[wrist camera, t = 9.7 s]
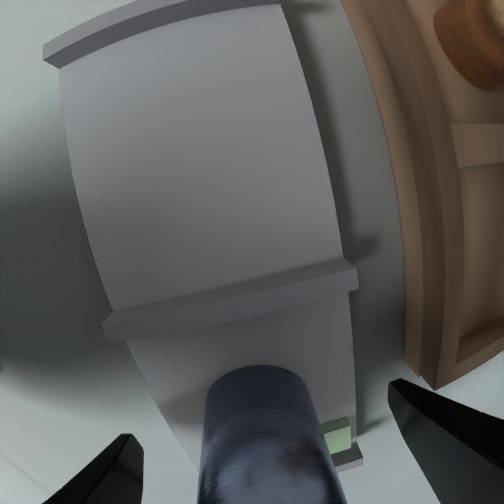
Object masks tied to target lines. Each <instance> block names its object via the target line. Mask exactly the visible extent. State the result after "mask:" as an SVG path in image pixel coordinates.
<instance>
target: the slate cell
mask: <svg viewBox="0 0 504 504" xmlns="http://www.w3.org/2000/svg"><path fill="white" fill-rule="evenodd" d="M197 504H347V501H346V498H345V495H344V492H343V489H342V487H341V484H340V481H339V478H338V475H337V472H336V469H335V466H334V463H333V460H332V457H331V454H330V451H329V448H328V446H327V443H326V440H325V437H324V434H323V431H322V428H321V425H320V422H319V419H318V417H317V414H316V411H315V408H314V405H313V402H312V399H311V396H310V393H309V391H308V388H307V386H306V384H305V383H304V381H303V380H302V379H301V378H300V377H299V376H298V375H296V374H295V373H293V372H291V371H289V370H287V369H284V368H282V367H277V366H272V365H251V366H245V367H242V368H238V369H235V370H233V371H230V372H228V373H226V374H225V375H223V376H222V377H220V378H219V379H218V380H217V381H216V382H215V383H214V384H213V385H212V386H211V388H210V389H209V391H208V394H207V397H206V404H205V414H204V424H203V435H202V446H201V457H200V469H199V481H198V495H197Z"/></svg>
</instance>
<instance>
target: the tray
mask: <svg viewBox="0 0 504 504" xmlns="http://www.w3.org/2000/svg"><path fill="white" fill-rule="evenodd" d="M449 1H450V0H341V2H342V4H343V6H344V8H345V11H346V13H347V15H348V18H349V20H350V23H351V25H352V27H353V30H354V33H355V35H356V38H357V40H358V43H359V46H360V49H361V51H362V54H363V57H364V60H365V63H366V66H367V69H368V72H369V75H370V78H371V82H372V85H373V88H374V92H375V95H376V99H377V102H378V106H379V110H380V113H381V117H382V121H383V126H384V130H385V134H386V138H387V143H388V148H389V153H390V158H391V163H392V168H393V174H394V179H395V185H396V192H397V199H398V206H399V213H400V222H401V231H402V241H403V253H404V268H405V290H406V341H405V362H406V363H407V364H408V366H409V367H410V368H411V369H412V370H413V371H414V372H415V374H416V375H417V376H418V377H420V376H422V377H423V378H424V380H425V381H426V382H427V383H428V384H429V385H430V386H431V388H432V389H433V390H434V391H435V390H437V389H439V388H441V387H443V386H445V385H447V384H449V383H451V382H453V381H454V380H456V379H458V378H460V377H462V376H463V375H465V374H467V373H469V372H470V371H472V370H474V369H475V368H477V367H479V366H480V365H482V364H483V363H485V362H487V361H488V360H490V359H491V358H493V357H494V356H496V355H497V354H499V353H500V352H502V351H503V350H504V87H501V88H497V89H493V90H488V91H487V90H481V89H479V88H477V87H475V86H473V85H472V84H470V83H469V82H468V81H467V80H466V79H464V78H463V77H462V76H461V75H460V73H459V72H458V71H457V70H456V69H455V68H454V66H453V65H452V64H451V62H450V61H449V59H448V58H447V56H446V55H445V53H444V51H443V49H442V47H441V45H440V43H439V41H438V39H437V36H436V33H435V29H434V21H433V19H434V14H435V12H436V10H437V9H439V8H440V7H441V6H443V5H444V4H446V3H447V2H449Z"/></svg>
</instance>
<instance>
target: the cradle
mask: <svg viewBox="0 0 504 504" xmlns="http://www.w3.org/2000/svg"><path fill="white" fill-rule="evenodd" d="M280 2H281V0H138V1H135V2H132V3H129V4H127V5H124V6H121V7H119V8H116V9H114V10H111V11H109V12H107V13H104V14H102V15H100V16H98V17H95V18H93V19H91V20H89V21H87V22H85V23H83V24H81V25H79V26H77V27H75V28H73V29H71V30H69V31H67V32H65V33H63V34H61V35H60V36H58V37H56V38H54V39H53V40H51V41H49V42H48V43H46V44H44V45H43V60H44V61H46V62H48V63H50V64H51V65H53V66H55V67H57V68H58V69H59V73H60V90H61V102H62V111H63V120H64V128H65V135H66V142H67V148H68V154H69V160H70V165H71V171H72V176H73V181H74V185H75V190H76V194H77V199H78V203H79V207H80V211H81V215H82V219H83V223H84V226H85V230H86V233H87V237H88V240H89V244H90V247H91V250H92V254H93V257H94V260H95V263H96V266H97V269H98V272H99V275H100V278H101V281H102V284H103V286H104V289H105V292H106V295H107V297H108V300H109V303H110V305H111V308H112V310H113V311H112V312H111V314H110V315H109V316H108V317H107V318H106V320H105V321H104V322H103V323H102V324H101V325H100V326H101V328H102V330H103V333H104V335H105V337H106V339H107V342H108V344H113V343H120V342H126V344H127V346H128V348H129V350H130V353H131V355H132V357H133V359H134V361H135V363H136V365H137V367H138V369H139V372H140V374H141V376H142V378H143V380H144V381H145V383H146V385H147V387H148V389H149V391H150V393H151V395H152V397H153V399H154V400H155V402H156V404H157V406H158V408H159V410H160V411H161V413H162V415H163V417H164V418H165V420H166V422H167V423H168V425H169V427H170V428H171V430H172V432H173V433H174V435H175V437H176V438H177V440H178V441H179V443H180V445H181V446H182V448H183V449H184V451H185V452H186V454H187V455H188V457H189V458H190V460H191V461H192V463H193V464H194V466H195V467H196V469H197V470H198V472H199V469H200V457H201V446H202V435H203V424H204V414H205V404H206V397H207V394H208V391H209V389H210V388H211V386H212V385H213V384H214V383H215V382H216V381H217V380H218V379H219V378H220V377H222V376H223V375H225V374H226V373H228V372H230V371H233V370H235V369H238V368H242V367H245V366H251V365H272V366H277V367H282V368H284V369H287V370H289V371H291V372H293V373H295V374H296V375H298V376H299V377H300V378H301V379H302V380H303V381H304V383H305V384H306V386H307V388H308V391H309V393H310V396H311V399H312V402H313V405H314V408H315V411H316V414H317V417H318V419H319V422H320V425H321V428H322V431H323V434H324V437H325V440H326V443H327V446H328V448H329V451H330V454H331V457H332V460H333V463H334V466H335V469H336V472H337V473H339V472H342V471H345V470H348V469H351V468H354V467H357V466H360V465H363V456H362V454H361V451H360V449H359V447H358V445H357V442H356V387H355V367H354V351H353V338H352V326H351V315H350V306H349V297H348V292H351V291H354V290H357V289H359V282H358V273H357V267H355V266H354V265H353V264H351V263H350V262H349V261H347V260H346V259H345V258H343V251H342V244H341V238H340V231H339V225H338V220H337V214H336V208H335V203H334V197H333V192H332V187H331V182H330V177H329V172H328V168H327V163H326V158H325V154H324V150H323V145H322V141H321V137H320V133H319V128H318V124H317V120H316V117H315V113H314V109H313V105H312V101H311V98H310V94H309V91H308V87H307V84H306V80H305V77H304V73H303V70H302V67H301V63H300V60H299V57H298V54H297V51H296V48H295V45H294V42H293V39H292V36H291V33H290V30H289V27H288V24H287V21H286V18H285V16H284V13H283V10H282V7H281V5H280Z"/></svg>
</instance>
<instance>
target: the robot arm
mask: <svg viewBox="0 0 504 504" xmlns="http://www.w3.org/2000/svg"><path fill="white" fill-rule="evenodd" d="M388 403H389V406H390V408H391V411H392V413H393V415H394V418H395V420H396V422H397V425H398V427H399V429H400V432H401V434H402V436H403V438H404V440H405V442H406V444H407V446H408V447H409V449H410V451H411V452H412V454H413V456H414V458H415V459H416V461H417V463H418V464H419V466H420V468H421V470H422V471H423V473H424V475H425V477H426V478H427V480H428V482H429V484H430V485H431V487H432V489H433V491H434V492H435V494H436V496H437V498H438V500H439V501H440V503H441V504H504V420H503V419H500V418H497V417H494V416H491V415H489V414H486V413H483V412H481V413H480V411H478V410H475V409H473V408H470V407H468V406H465V405H463V404H460V403H458V402H455V401H453V400H451V399H448V398H446V397H443V396H441V395H439V394H436V393H434V392H432V391H429V390H427V389H425V388H422V387H420V386H418V385H415V384H413V383H411V382H409V381H406V380H404V379H402V378H399V379H396V380H394V381H391V382H390V383H389V386H388ZM143 465H144V451H143V448H142V446H141V445H140V444H139V442H138V441H137V439H136V438H135V436H134V435H133V434H120V435H119V436H118V437H117V438H116V439H115V440H114V441H113V442H112V443H111V444H110V445H109V446H107V447H106V448H105V449H104V450H103V451H102V452H101V453H100V454H99V455H98V456H97V457H96V458H94V459H93V460H92V461H91V462H90V463H89V464H88V465H87V466H86V467H85V468H83V469H82V470H81V471H80V472H79V473H78V474H77V475H76V476H74V477H73V478H72V479H71V480H70V481H69V482H68V483H67V484H65V485H64V486H63V487H62V489H60V490H58V491H57V492H56V493H55V494H54V495H53V496H51V497H50V498H49V499H48V500H46V501H45V502H43V503H42V504H141V500H142V492H143Z"/></svg>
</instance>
